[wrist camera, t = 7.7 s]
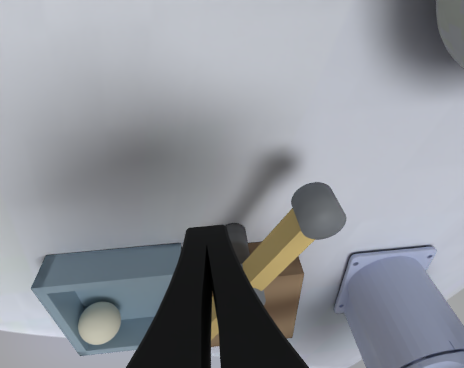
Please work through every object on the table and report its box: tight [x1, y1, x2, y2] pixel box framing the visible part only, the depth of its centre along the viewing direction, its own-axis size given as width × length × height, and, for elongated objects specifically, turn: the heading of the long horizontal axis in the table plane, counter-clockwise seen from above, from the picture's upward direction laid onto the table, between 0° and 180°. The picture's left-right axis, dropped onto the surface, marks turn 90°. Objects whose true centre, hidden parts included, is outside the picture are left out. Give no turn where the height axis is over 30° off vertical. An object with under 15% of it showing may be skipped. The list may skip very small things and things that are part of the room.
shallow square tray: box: [31, 243, 182, 356], centre depth 27 cm, size 11×11×3 cm
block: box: [211, 223, 304, 347], centre depth 27 cm, size 12×9×4 cm
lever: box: [211, 182, 346, 340], centre depth 21 cm, size 20×3×2 cm, turn 149°
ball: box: [78, 302, 121, 345], centre depth 28 cm, size 4×4×4 cm
